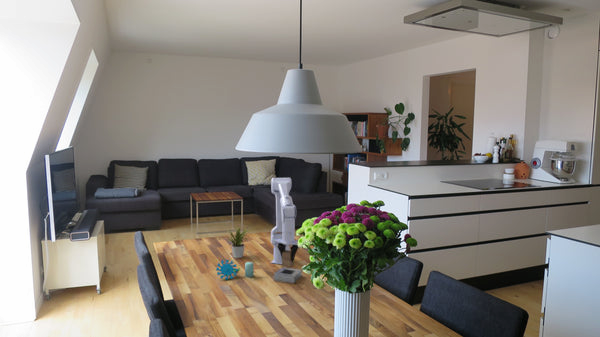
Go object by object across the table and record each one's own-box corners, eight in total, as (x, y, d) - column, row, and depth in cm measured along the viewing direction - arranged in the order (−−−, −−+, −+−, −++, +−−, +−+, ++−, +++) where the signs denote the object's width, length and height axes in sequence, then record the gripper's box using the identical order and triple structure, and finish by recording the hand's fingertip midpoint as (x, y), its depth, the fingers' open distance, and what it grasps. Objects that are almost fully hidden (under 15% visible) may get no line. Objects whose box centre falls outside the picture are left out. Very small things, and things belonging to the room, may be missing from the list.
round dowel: (247, 273, 209) (247, 261, 208) (255, 274, 207) (255, 262, 206) (243, 276, 205) (243, 264, 204) (251, 277, 203) (251, 265, 203)
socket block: (282, 273, 210) (282, 267, 210) (301, 275, 207) (301, 269, 206) (273, 280, 201) (273, 273, 200) (294, 283, 197) (294, 276, 197)
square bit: (285, 263, 205) (285, 250, 204) (293, 264, 204) (293, 251, 203) (282, 266, 201) (282, 252, 200) (290, 267, 200) (290, 253, 199)
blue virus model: (215, 278, 198) (217, 258, 204) (214, 283, 202) (215, 263, 209) (240, 279, 201) (240, 259, 207) (237, 284, 205) (238, 265, 211)
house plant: (257, 258, 231) (257, 228, 229) (234, 263, 223) (234, 231, 222) (245, 251, 243) (245, 222, 241) (222, 255, 235) (222, 225, 233)
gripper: (270, 232, 200) (270, 260, 201) (300, 235, 195) (299, 264, 196) (276, 228, 206) (276, 256, 208) (305, 231, 202) (305, 260, 203)
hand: (288, 260), depth 203 cm, fingers closed on square bit, 4 cm apart
